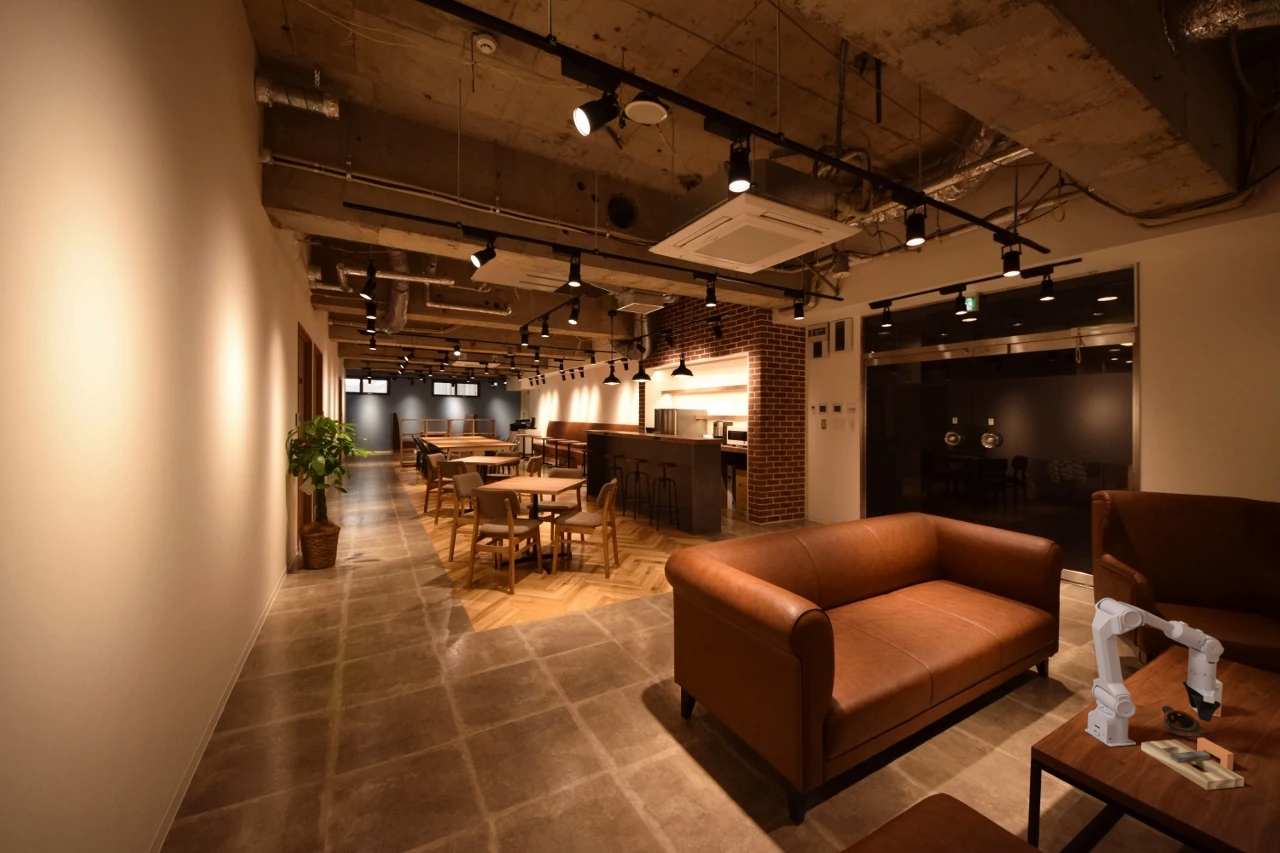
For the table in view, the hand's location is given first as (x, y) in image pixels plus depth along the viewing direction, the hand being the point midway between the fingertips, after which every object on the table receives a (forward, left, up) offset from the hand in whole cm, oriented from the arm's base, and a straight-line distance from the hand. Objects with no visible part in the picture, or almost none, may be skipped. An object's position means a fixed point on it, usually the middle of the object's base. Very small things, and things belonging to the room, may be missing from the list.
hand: (1199, 713), depth 152 cm
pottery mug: (+2, +6, -10) cm, 12 cm away
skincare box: (+23, +14, -10) cm, 29 cm away
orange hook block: (-5, -7, -10) cm, 13 cm away
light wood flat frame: (-15, -8, -10) cm, 20 cm away
